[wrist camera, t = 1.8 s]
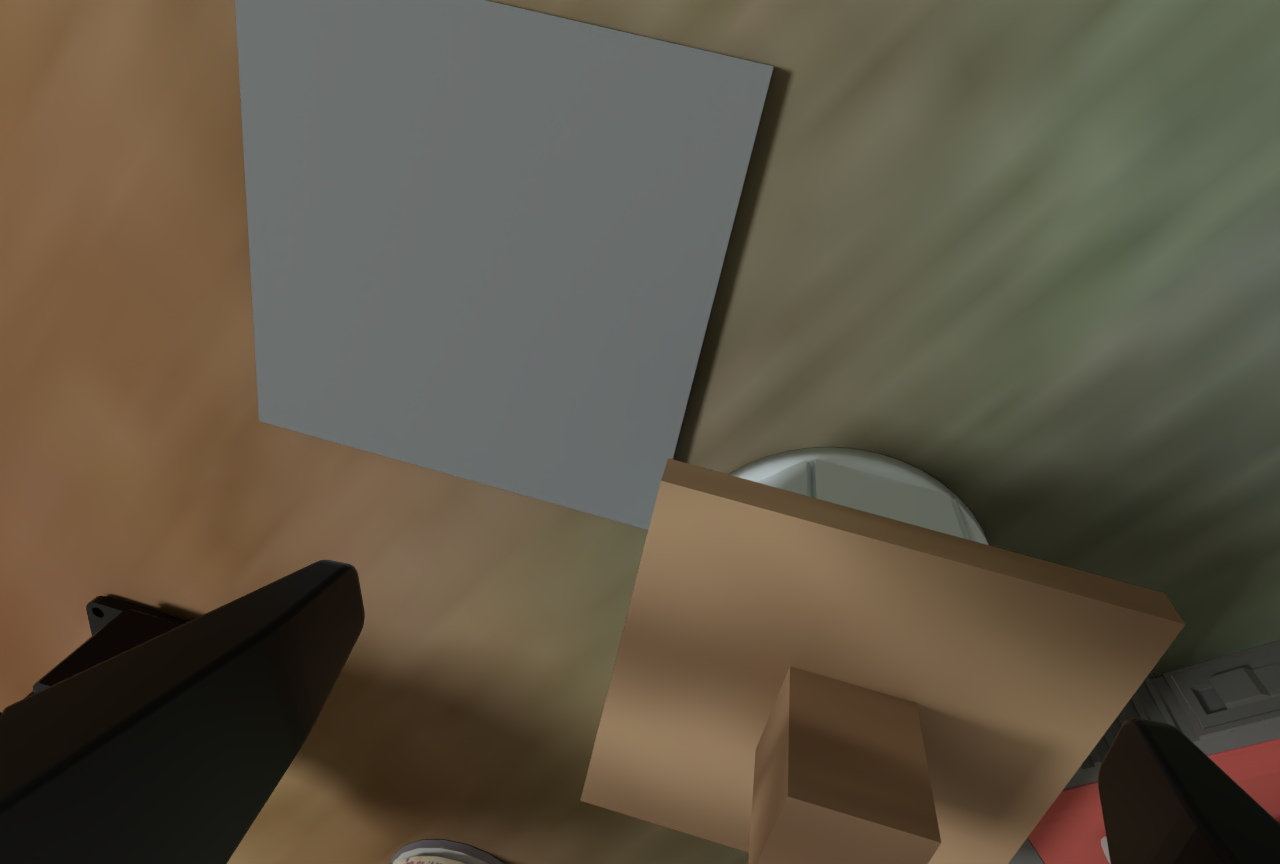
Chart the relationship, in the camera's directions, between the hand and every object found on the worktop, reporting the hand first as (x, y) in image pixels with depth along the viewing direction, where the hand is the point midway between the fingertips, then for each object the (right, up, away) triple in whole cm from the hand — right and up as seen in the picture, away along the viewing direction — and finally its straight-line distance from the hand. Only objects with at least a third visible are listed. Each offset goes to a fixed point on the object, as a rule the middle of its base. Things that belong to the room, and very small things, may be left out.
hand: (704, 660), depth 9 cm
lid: (+4, -4, +10) cm, 12 cm away
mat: (-5, +7, +12) cm, 15 cm away
